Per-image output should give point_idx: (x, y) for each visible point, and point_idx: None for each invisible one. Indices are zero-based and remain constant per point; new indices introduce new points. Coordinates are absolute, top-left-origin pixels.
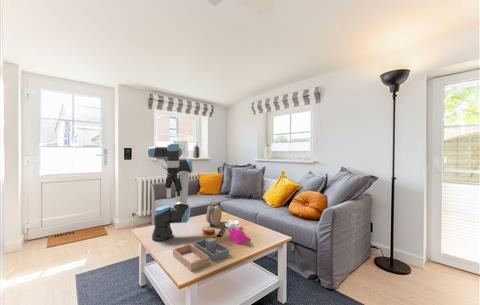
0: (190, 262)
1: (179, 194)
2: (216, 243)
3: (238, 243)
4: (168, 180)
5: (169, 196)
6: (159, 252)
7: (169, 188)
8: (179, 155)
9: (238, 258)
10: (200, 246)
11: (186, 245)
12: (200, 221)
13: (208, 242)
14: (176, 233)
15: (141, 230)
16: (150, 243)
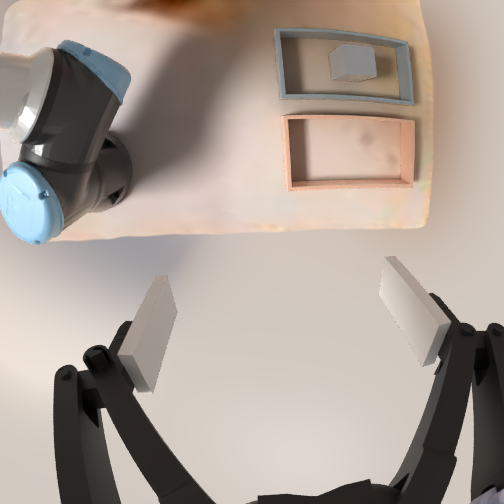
0: (407, 184)
1: (443, 310)
2: (339, 34)
3: None
4: (105, 482)
5: (168, 298)
6: (231, 215)
7: (143, 370)
8: None
9: (426, 45)
10: (333, 96)
11: (288, 133)
12: (46, 11)
13: (365, 76)
14: None
15: None
16: (139, 223)
